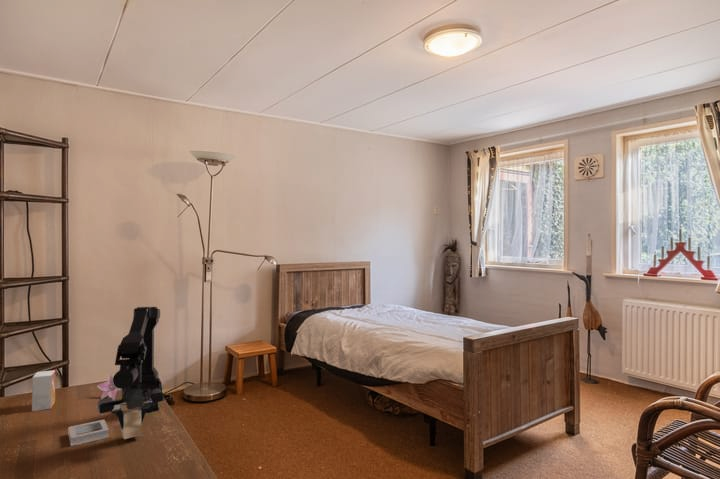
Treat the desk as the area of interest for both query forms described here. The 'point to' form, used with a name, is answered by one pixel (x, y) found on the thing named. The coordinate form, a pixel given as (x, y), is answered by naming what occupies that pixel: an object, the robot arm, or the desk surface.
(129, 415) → the peg
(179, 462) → the desk surface
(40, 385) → the small box
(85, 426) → the rectangular frame
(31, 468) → the desk surface
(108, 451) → the desk surface
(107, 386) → the lily
